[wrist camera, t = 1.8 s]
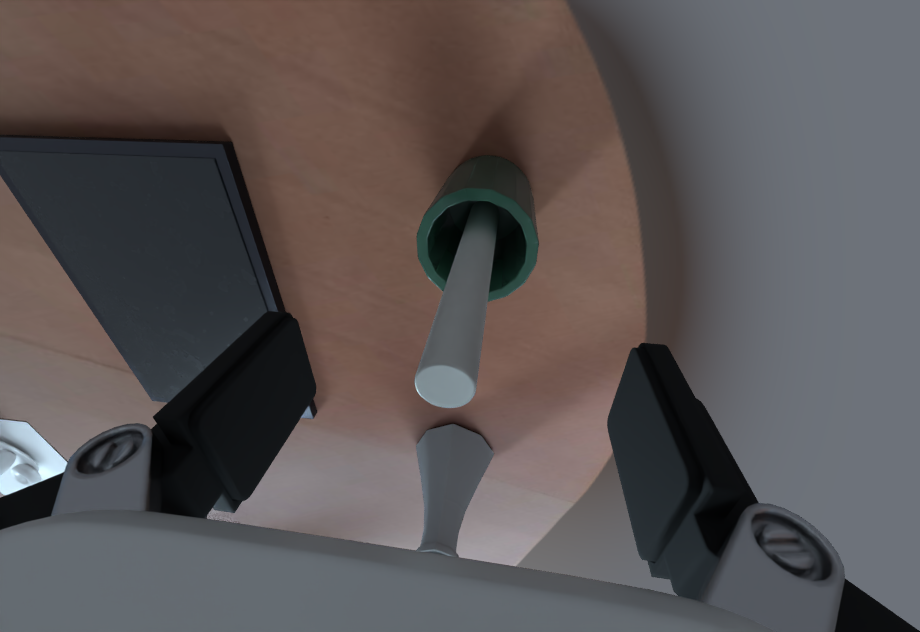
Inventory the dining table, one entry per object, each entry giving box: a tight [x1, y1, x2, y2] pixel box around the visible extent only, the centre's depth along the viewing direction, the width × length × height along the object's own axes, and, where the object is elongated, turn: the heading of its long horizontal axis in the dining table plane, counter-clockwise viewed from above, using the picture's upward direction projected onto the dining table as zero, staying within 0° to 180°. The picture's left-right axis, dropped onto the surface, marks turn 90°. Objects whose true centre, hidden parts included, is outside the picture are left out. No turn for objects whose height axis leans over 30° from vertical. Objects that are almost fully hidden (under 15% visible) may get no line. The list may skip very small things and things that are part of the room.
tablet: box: [0, 135, 317, 419], centre depth 29 cm, size 24×17×1 cm
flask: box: [416, 424, 494, 557], centre depth 32 cm, size 7×7×10 cm
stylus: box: [415, 201, 499, 408], centre depth 15 cm, size 2×2×15 cm
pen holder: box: [417, 155, 539, 302], centre depth 19 cm, size 5×5×7 cm
